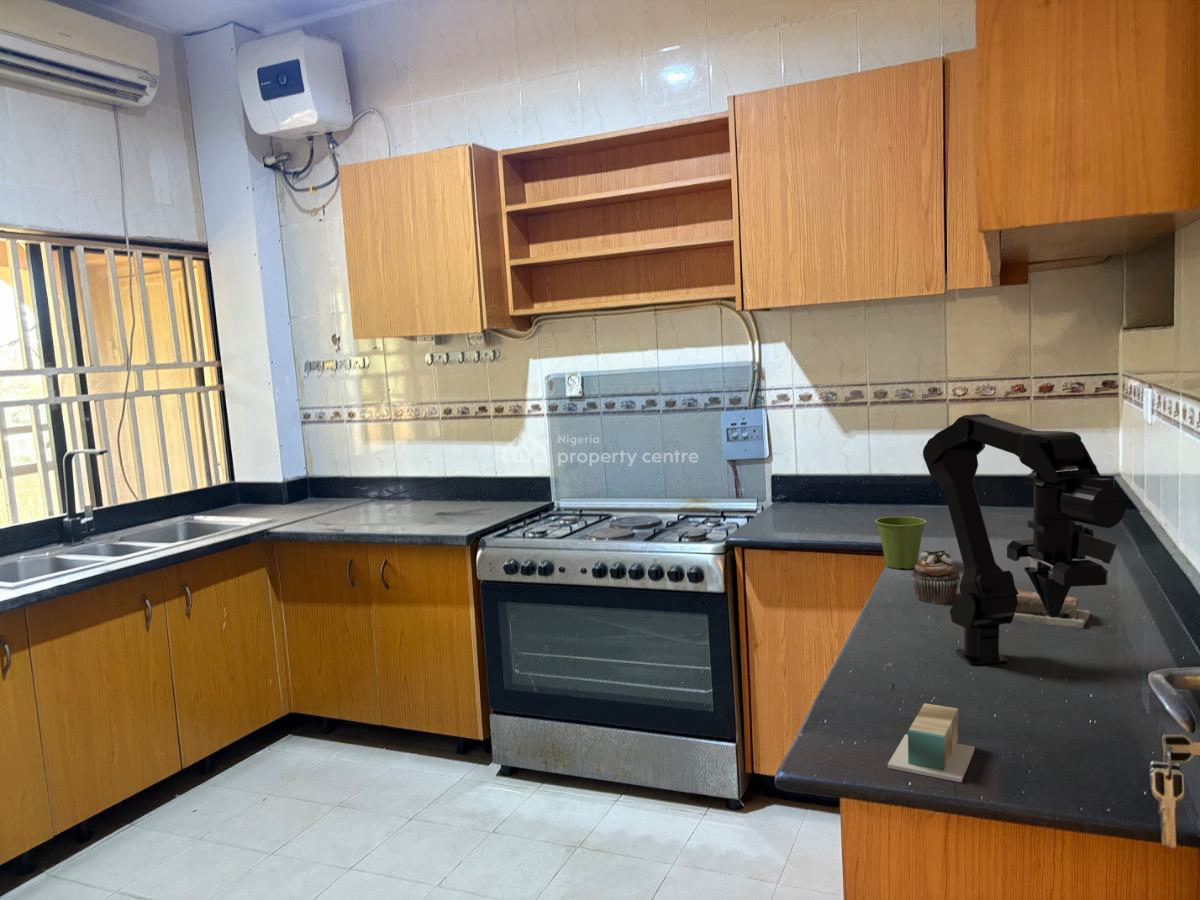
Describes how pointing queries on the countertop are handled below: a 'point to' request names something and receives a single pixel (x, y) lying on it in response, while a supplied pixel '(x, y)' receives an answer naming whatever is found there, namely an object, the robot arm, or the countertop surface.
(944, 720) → the block
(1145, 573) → the countertop surface
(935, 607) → the countertop surface
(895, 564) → the plant pot
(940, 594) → the cupcake
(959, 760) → the mat
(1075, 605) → the stepped brick
